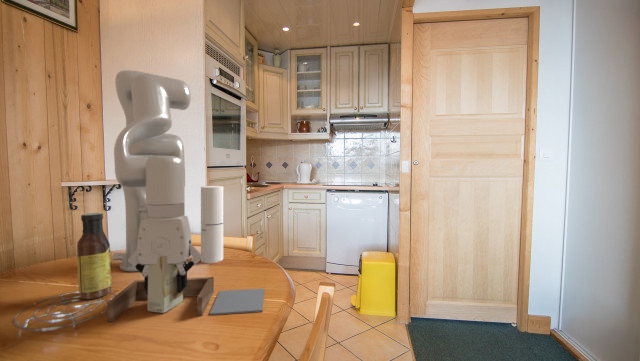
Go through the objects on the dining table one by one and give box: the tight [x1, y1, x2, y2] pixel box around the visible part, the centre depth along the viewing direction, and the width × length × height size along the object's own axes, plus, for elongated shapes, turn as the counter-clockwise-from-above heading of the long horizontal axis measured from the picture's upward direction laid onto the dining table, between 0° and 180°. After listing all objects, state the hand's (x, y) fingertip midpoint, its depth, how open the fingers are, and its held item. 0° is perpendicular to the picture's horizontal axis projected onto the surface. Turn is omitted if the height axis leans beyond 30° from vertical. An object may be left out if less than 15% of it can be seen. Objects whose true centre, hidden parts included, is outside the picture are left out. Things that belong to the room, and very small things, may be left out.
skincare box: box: [147, 256, 184, 314], centre depth 62 cm, size 6×4×12 cm
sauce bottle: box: [76, 212, 113, 300], centre depth 67 cm, size 7×6×20 cm
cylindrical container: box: [200, 185, 224, 264], centre depth 94 cm, size 7×7×25 cm
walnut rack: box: [106, 276, 215, 323], centre depth 62 cm, size 18×11×4 cm, turn 99°
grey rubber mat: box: [209, 288, 265, 316], centre depth 65 cm, size 11×11×1 cm
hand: (166, 290), depth 62 cm, fingers closed on skincare box, 5 cm apart
